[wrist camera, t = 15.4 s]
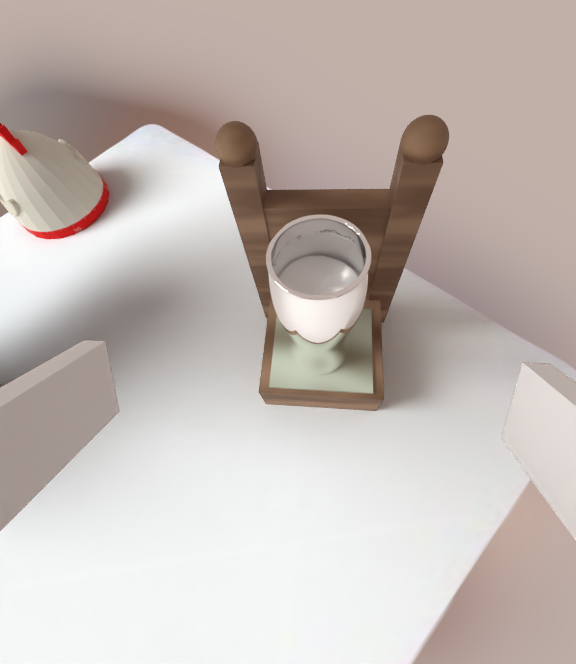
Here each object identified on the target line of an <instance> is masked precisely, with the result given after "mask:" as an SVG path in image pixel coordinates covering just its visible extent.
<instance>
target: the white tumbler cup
mask: <svg viewBox="0 0 576 664" xmlns="http://www.w3.org/2000/svg"><path fill="white" fill-rule="evenodd" d="M266 264H267V269H268V279H269V287H270V293H271V298H272V302H273V306H274V309H275V312H276V314H277V317H278V319H279V320H280V322H281V324H282V326H283V328H284V329H285V330H286V332H287V333H288V335H289V336H290V340H289V351H290V355H291V357H292V359H293V361H294V362H295V364H296V365H297V366H298V367H299V368H301V369H302V370H304V371H306V372H308V373H311V374H319V375H320V374H327V373H330V372H333V371H335V370H336V369H338V368H339V367H340V366H341V365H342V364H343V363H344V362H345V360H346V358H347V356H348V353H349V339H348V336H349V334H350V333H351V331H352V330H353V328H354V327H355V325H356V323H357V321H358V320H359V318H360V316H361V313H362V311H363V307H364V304H365V301H366V296H367V290H368V283H369V271H370V264H371V248H370V245H369V242H368V240H367V238H366V237H365V235H364V234H363V233H362V231H361V230H360V229H359V228H357V227H356V226H355V225H354V224H352V223H351V222H349V221H347V220H345V219H342V218H339V217H336V216H332V215H322V214H319V215H309V216H304V217H301V218H298V219H295V220H293V221H291V222H289V223H288V224H286V225H285V226H283V227H282V228H281V229H280V230H279V231H278V232H277V233H276V234H275V235H274V236H273V238H272V239H271V241H270V243H269V246H268V249H267V253H266Z"/></svg>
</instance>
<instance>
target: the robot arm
mask: <svg viewBox="0 0 576 664" xmlns="http://www.w3.org/2000/svg"><path fill="white" fill-rule="evenodd" d="M118 412H119V407H118V402H117V397H116V392H115V387H114V382H113V377H112V372H111V367H110V362H109V357H108V352H107V347H106V342H105V341H92V340H83V341H81V342H80V343H78V344H76V345H74V346H73V347H71V348H69V349H67V350H66V351H64V352H62V353H60V354H59V355H57V356H55V357H53V358H51V359H50V360H48V361H46V362H44V363H43V364H41V365H39V366H37V367H36V368H34V369H32V370H30V371H29V372H27V373H25V374H23V375H21V376H20V377H18V378H16V379H14V380H13V381H11V382H9V383H7V384H6V385H4V386H2V387H0V531H1V530H2V529H3V528H4V527H5V526H6V525H7V524H8V523H9V522H10V521H11V520H12V519H13V518H14V517H15V516H16V515H17V514H18V513H19V512H20V511H21V510H22V509H23V508H24V507H25V506H26V505H27V504H28V503H29V502H30V501H31V500H32V499H33V498H34V497H35V496H36V495H37V494H38V493H39V492H40V491H41V490H42V489H43V488H44V487H45V486H46V485H47V484H48V483H49V482H50V481H51V480H52V479H53V478H54V477H55V476H56V475H57V474H58V473H59V472H60V471H61V470H62V469H63V468H64V467H65V466H66V465H67V464H68V463H69V462H70V461H71V460H72V459H73V458H74V457H75V456H76V455H77V454H78V453H79V452H80V451H81V450H82V449H83V447H84V446H85V445H86V444H87V443H88V442H89V441H90V440H91V439H92V438H93V437H94V436H95V435H96V434H97V433H98V432H99V431H100V430H101V429H102V428H103V427H104V426H105V425H106V424H107V423H108V422H109V421H110V420H111V419H112V418H113V417H114V416H115V415H116V414H117V413H118ZM501 439H502V441H503V442H504V444H505V445H506V446H507V448H508V449H509V450H510V452H511V453H512V454H513V456H514V457H515V459H516V460H517V461H518V463H519V464H520V465H521V467H522V468H523V469H524V471H525V472H526V474H527V475H528V476H529V478H530V479H531V480H532V482H533V483H534V484H535V486H536V487H537V489H538V490H539V491H540V492H541V494H542V495H543V497H544V498H545V499H546V501H547V502H548V503H549V505H550V506H551V507H552V509H553V510H554V512H555V513H556V514H557V516H558V517H559V519H560V520H561V521H562V523H563V524H564V525H565V527H566V528H567V529H568V531H569V532H570V534H571V535H572V536H573V538H574V539H575V540H576V382H575V381H573V380H572V379H571V378H569V377H568V376H566V375H565V374H564V373H562V372H561V371H559V370H558V369H557V368H555V367H554V366H553V365H551V364H545V363H525V362H523V363H522V366H521V370H520V373H519V377H518V380H517V384H516V387H515V391H514V395H513V398H512V402H511V405H510V409H509V412H508V416H507V419H506V423H505V426H504V430H503V434H502V437H501Z"/></svg>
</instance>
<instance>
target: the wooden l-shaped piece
mask: <svg viewBox="0 0 576 664" xmlns="http://www.w3.org/2000/svg"><path fill="white" fill-rule="evenodd" d="M448 140H449V131H448V128H447V125H446V124H445V122H444V121H443V120H442V119H441V118H439V117H437V116H434V115H424V116H421V117H418V118H416V119H415V120H413V121H412V122H411V123H410V124H409V125H408V126H407V128H406V129H405V131H404V133H403V135H402V138H401V142H400V146H399V150H398V155H397V159H396V163H395V168H394V172H393V177H392V181H391V185H390V189H334V190H333V189H332V190H267V188H266V183H265V177H264V172H263V166H262V161H261V155H260V150H259V143H258V142H257V139H256V136H255V134H254V132H253V131H252V130H251V128H250V127H249V126H247V125H246V124H244V123H242V122H238V121H232V122H228V123H226V124H225V125H223V126H222V127H221V128H220V130H219V131H218V133H217V136H216V140H215V147H216V152H217V154H218V156H219V158H220V163H219V169H220V172H221V176H222V179H223V182H224V185H225V188H226V192H227V195H228V198H229V201H230V204H231V207H232V211H233V214H234V217H235V220H236V223H237V227H238V230H239V233H240V236H241V239H242V242H243V246H244V249H245V252H246V255H247V258H248V262H249V265H250V268H251V271H252V274H253V278H254V281H255V284H256V287H257V290H258V293H259V297H260V300H261V303H262V306H263V309H264V313H265V316H266V318H268V320H267V329H266V337H265V345H264V354H263V362H262V370H261V378H260V387H259V393H260V395H261V396H262V398H263V400H264V401H265V403H266V404H275V405H291V406H307V407H323V408H339V409H355V410H370V411H376V410H377V408H378V407H379V406H380V404H381V403H382V401H383V400H384V395H383V367H382V339H381V322H384V320H385V317H386V314H387V312H388V309H389V306H390V304H391V301H392V298H393V296H394V293H395V290H396V288H397V285H398V282H399V280H400V277H401V274H402V272H403V269H404V266H405V264H406V261H407V258H408V256H409V253H410V250H411V248H412V245H413V242H414V240H415V237H416V234H417V232H418V229H419V226H420V224H421V221H422V218H423V215H424V213H425V210H426V207H427V205H428V202H429V199H430V197H431V194H432V192H433V188H434V186H435V183H436V181H437V178H438V175H439V172H440V170H441V167H442V165H443V158H442V154H443V153H444V151H445V150H446V147H447V145H448ZM319 214H322V215H332V216H336V217H339V218H342V219H345V220H347V221H349V222H351V223H352V224H354V225H355V226H356V227H357V228H359V229H360V230H361V231H362V233H363V234H364V235H365V237H366V238H367V240H368V242H369V245H370V248H371V264H370V271H369V283H368V290H367V296H366V301H365V304H364V307H363V311H362V313H361V316H360V318H359V320H358V321H357V323H356V325H355V327H354V328H353V330H352V331H351V333H350V334H349V336H348V339H349V353H348V356H347V358H346V360H345V362H344V363H343V364H342V365H341V366H340V367H339V368H338V369H336V370H335V371H333V372H330V373H327V374H320V375H319V374H311V373H308V372H306V371H304V370H302V369H301V368H299V367H298V366H297V365H296V364H295V362H294V361H293V359H292V357H291V355H290V351H289V340H290V336H289V335H288V333H287V332H286V330H285V329H284V328H283V326H282V324H281V322H280V320H279V319H278V317H277V314H276V312H275V309H274V306H273V302H272V298H271V293H270V287H269V279H268V269H267V264H266V253H267V249H268V246H269V243H270V241H271V239H272V238H273V236H274V235H275V234H276V233H277V232H278V231H279V230H280V229H281V228H282V227H283V226H285V225H286V224H288V223H289V222H291V221H293V220H295V219H298V218H301V217H304V216H309V215H319Z"/></svg>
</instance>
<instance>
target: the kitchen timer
mask: <svg viewBox="0 0 576 664" xmlns="http://www.w3.org/2000/svg"><path fill="white" fill-rule="evenodd" d="M108 198H109V191H108V188H107V185H106V184H105V182H104V181H103V179H102V178H101V177H100V175H99V174H98V173H97V172H96V171H95V170H94V169H93V168H92V167H91V166H90V165H89V162H88V161H87V160H86V159H85V158H84V157H83V156H82V155H81V154H80V153H79V152H78V151H76V150H75V149H74V148H73V147H72V146H70V145H69V144H68V143H67V142H65V141H64V140H61V139H59V140H58V141H55V140H54V139H51V138H49V137H47V136H45V135H42V134H39V133H36V132H32V131H26V130H10V131H9V130H8V129H7V128H6V127H5V126H4V125H3V126H2V124H1V123H0V201H1V202H2V204H3V205H4V206H5V207H6V209H7V210H8V211H9V213H10V214H12V215H13V216H14V217H15V218H16V220H17V221H18V222H19V223H20V224H21V225H22V226H23V227H24V228H25V229H26V230H27V231H28V232H30V233H31V234H33V235H35V236H36V237H39V238H44V239H60V238H64V237H67V236H71V235H74V234H76V233H78V232H80V231H82V230H84V229H86V228H87V227H88V226H89V225H91V224H92V223H93V222H95V221H96V220H97V219H98V217H99V216H100V215H101V214H102V213H103V211H104V209H105V207H106V205H107V203H108Z"/></svg>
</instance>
